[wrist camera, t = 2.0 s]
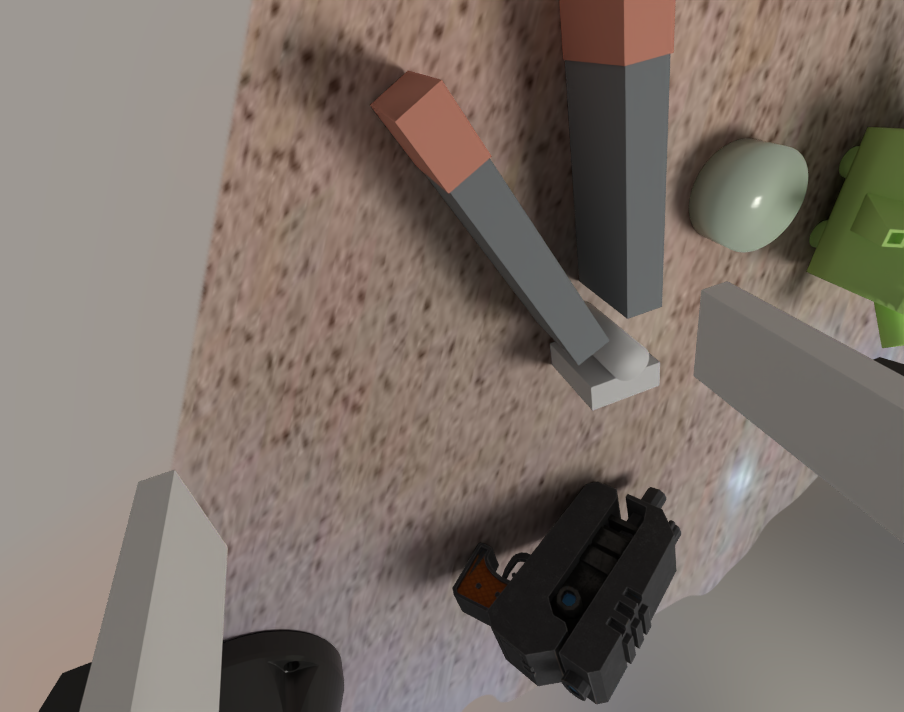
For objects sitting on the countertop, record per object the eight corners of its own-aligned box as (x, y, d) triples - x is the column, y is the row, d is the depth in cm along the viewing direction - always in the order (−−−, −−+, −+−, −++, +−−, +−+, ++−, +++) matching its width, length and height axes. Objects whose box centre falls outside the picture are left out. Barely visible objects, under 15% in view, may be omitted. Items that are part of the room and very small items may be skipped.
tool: (431, 584, 45) (587, 702, 35) (556, 434, 55) (707, 494, 45) (450, 620, 49) (598, 736, 39) (565, 473, 58) (707, 537, 48)
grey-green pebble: (684, 250, 40) (712, 264, 37) (690, 153, 36) (722, 162, 33) (765, 223, 41) (798, 235, 38) (779, 125, 37) (817, 133, 34)
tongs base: (612, 343, 42) (665, 389, 36) (552, 365, 41) (597, 415, 36) (602, -38, 28) (685, -54, 23) (511, -16, 27) (574, -27, 22)
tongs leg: (564, 299, 38) (611, 340, 33) (536, 323, 38) (578, 367, 33) (407, 70, 28) (441, 79, 23) (369, 105, 28) (394, 121, 23)
